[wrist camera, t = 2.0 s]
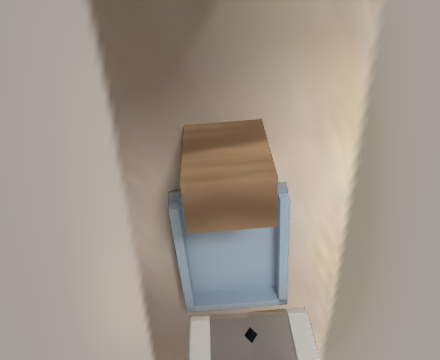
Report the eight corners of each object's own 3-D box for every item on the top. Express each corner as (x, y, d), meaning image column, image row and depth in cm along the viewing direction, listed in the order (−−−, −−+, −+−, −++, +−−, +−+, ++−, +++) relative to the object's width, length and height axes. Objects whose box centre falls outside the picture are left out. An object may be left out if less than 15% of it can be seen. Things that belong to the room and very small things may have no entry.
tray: (169, 191, 35) (167, 206, 33) (286, 182, 35) (290, 196, 33) (187, 296, 43) (186, 312, 41) (283, 288, 43) (286, 304, 41)
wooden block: (183, 125, 32) (179, 184, 25) (261, 119, 32) (277, 176, 25) (189, 169, 34) (187, 233, 27) (262, 163, 34) (277, 226, 27)
